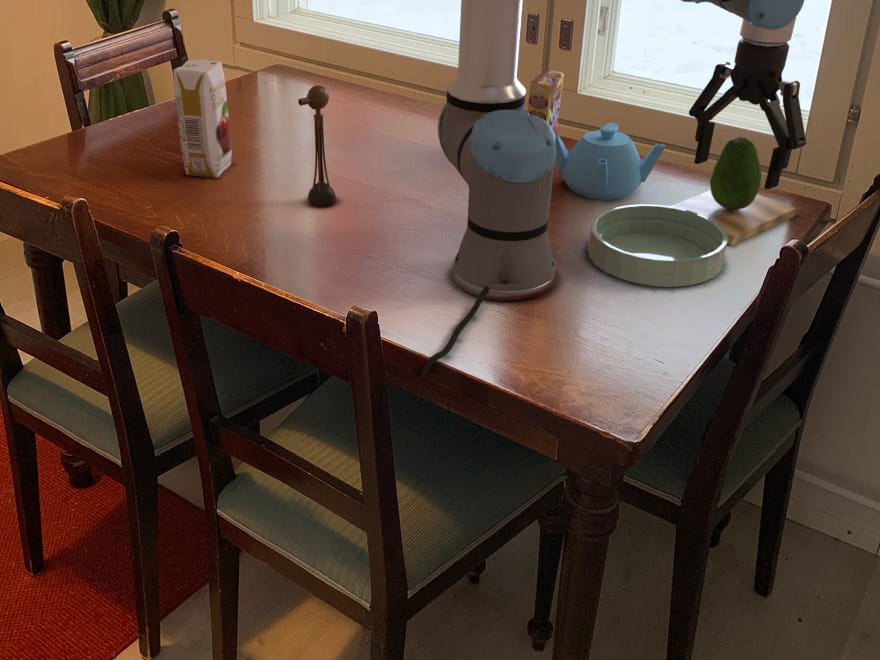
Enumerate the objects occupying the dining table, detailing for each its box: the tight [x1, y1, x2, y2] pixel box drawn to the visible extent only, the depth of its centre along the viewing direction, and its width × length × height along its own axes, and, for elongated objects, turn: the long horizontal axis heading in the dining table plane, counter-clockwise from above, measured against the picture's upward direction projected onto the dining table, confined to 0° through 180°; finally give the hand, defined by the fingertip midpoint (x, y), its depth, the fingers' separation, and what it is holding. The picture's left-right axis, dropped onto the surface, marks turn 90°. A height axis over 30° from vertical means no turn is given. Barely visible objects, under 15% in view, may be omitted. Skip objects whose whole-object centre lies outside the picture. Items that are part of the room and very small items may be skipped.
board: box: [669, 189, 797, 246], centre depth 169 cm, size 18×14×2 cm
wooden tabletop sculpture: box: [298, 84, 337, 209], centre depth 167 cm, size 6×5×20 cm
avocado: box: [709, 136, 762, 210], centre depth 165 cm, size 8×8×12 cm
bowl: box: [587, 203, 728, 288], centre depth 155 cm, size 20×20×4 cm
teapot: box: [555, 122, 666, 201], centre depth 176 cm, size 15×15×11 cm
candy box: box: [526, 69, 565, 135], centre depth 186 cm, size 9×4×15 cm, turn 157°
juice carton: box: [173, 58, 233, 179], centre depth 179 cm, size 8×9×19 cm
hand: (734, 174), depth 165 cm, fingers open, 13 cm apart
